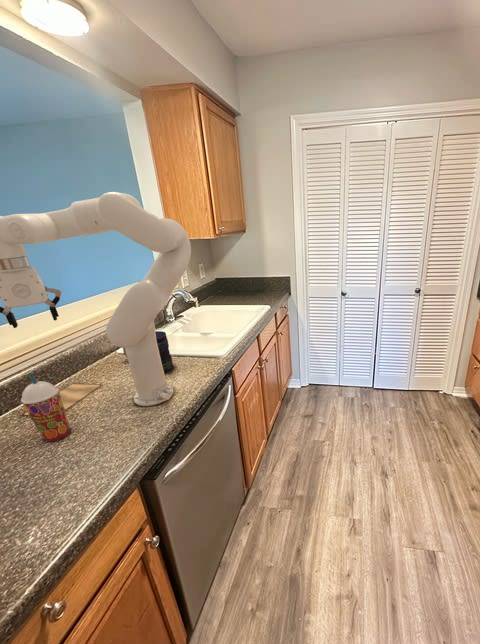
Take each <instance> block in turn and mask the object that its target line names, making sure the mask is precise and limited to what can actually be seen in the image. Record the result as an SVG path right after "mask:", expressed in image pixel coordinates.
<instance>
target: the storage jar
mask: <svg viewBox="0 0 480 644" xmlns="http://www.w3.org/2000/svg"><path fill="white" fill-rule="evenodd" d="M155 333H156V340H157V345H158V349H159V354H160V358H161V362H162V366H163V370H164V374H165V375H167V374H169V373H171V372H173V370H174V363H173V356H172V354H171V353H170V344H169V340H168V337H167V333H166V332H165V331H160V330H155Z"/></svg>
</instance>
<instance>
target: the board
mask: <svg viewBox="0 0 480 644" xmlns="http://www.w3.org/2000/svg"><path fill="white" fill-rule="evenodd" d="M99 387H101V384H83V383H81V384H80V383H71V384H70V385H68V386H67V387H65V388H63V389H62V390H59V393H60V396H61V400H62V403H63V406H64V409H65V411H66V410H68V409H69V408H71V407H72V406H74V405H75V404H77V403H78V402H80V401H81V400H82V399H83V398H85V397H86V396H88V395H89V394H91V393H92V392H94V391H95V390H96V389H98V388H99ZM23 416H30V415H29V414H28V412H27V411H26V412H25V413H23Z"/></svg>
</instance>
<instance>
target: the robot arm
mask: <svg viewBox="0 0 480 644" xmlns="http://www.w3.org/2000/svg"><path fill="white" fill-rule="evenodd" d="M113 231H115V232H117V233H119V234H121V235H122V236H124V237H126V238H128V239H130V240H131V241H133V242H135V243H137V244H139V245H141V247H142V246H143V247H144V248H146V249H148V250H150V251H152V252H156V253H158V255H157V257H156V258H155V259H154V261H153V263H152V264H151V266H150V268H149V270H148V271H147V272H146V274H145V276H144V277H143V278H142V280H140V281H139V282H137V283H136V284H134V285H132V286H131V287H130V288H129V289H128V290H127V291H126V293H125V294H124V295H123V297H122V299H121V300H120V302H119V304H118V305H117V307H116V309H115V310H114V312H113V313H112V315H111V316H110V319H109V320H108V322H107V324H106V327H105V333H106V337H107V339H108V341H109V342H110V343H111V344H112V345H114V346H115V347H117V348H122V349H123V348H125V351H126V355H127V357H126V359H127V362H128V365H129V369H130V373H131V376H132V380H133V383H134V386H135V389H136V394H134V397H133V401H134V403H135V405H138V406H141V407H150V406H155V405H158V404H161V403H164V402H166V401H169V400H170V399H171V397H173V395H174V388H173V387H172V386H171V385H170V384H168V383H167V379H166V374H164V370H163V366H162V362H161V358H160V354H159V349H158V345H157V340H156V333H155V331H156V326H155V319H156V318H157V316H158V314H160V312H161V311H162V310H163V309H164V307H165V306H166V304H167V303H168V301H169V298H170V297H171V295H172V293H173V292H174V291H175V289H176V287H177V286H178V284H179V283H180V281H181V279H182V277H183V276H184V274H185V272H186V271H187V268H188V267H189V264H190V260H191V257H192V256H191V255H192V247H191V241H190V238H189V236H188V235H189V234H188V233H187V231H186V230H185V229H184V227H183V226H182V224H180V223H179V222H178V221H176V220H174V219H172V218H168V217H162V218H160V217H158V216H157V215H155V214H153V213H151V212H150V211H147V210H146V209H145V208H143V207H142V204H141V203H140V201H139V200H138V199H137V198H136V197H135V196H133V195H131V194H128V193H125V192H119V191H118V192H117V191H108V192H105V193H103V194H101V196H99V197H94V198H89V199H83V200H77V201H73V202H71V204H70V206H69V207H66V208H63V209H57V210H54V211H48V212H42V213H41V212H40V213H13V214H9V215H8V214H7V215H0V300H1V302H2V304H3V306H4V307H3V306H0V314H2V315H3V316H5V318H6V321H7V322H8V325H9V326H12V327H13V329H17V328H18V322H17V319H16V316H15V314H14V312H11V310H12V309H14V308H22V307H26V306H27V307H28V306H33V305H34V306H35V305H39V304H43V303H44V304H46V305H47V306H49V307H48V308H49V311H50V314H51V317H52V319H53V321H57V320H58V317H59V312H58V310H57V307H56V306H57V305H58V303H59V302H60V300H61V296H62V290H61V289H58V288H55V287H51V286H45V285H44V282H43V281H42V279H41V277H40V275H39V273H38V271H37V270H36V268H35V267H33V266H31V263H30V261H29V257H28V255H27V253H26V249H25V247H24V245H34V244H41V243H48V242H49V243H50V242H54V241H59V240H65V239H69V238H74V237H79V236H85V237H87V236H92V235H98V234H102V233H107V232H113ZM48 293H52V294H54V298H53V299H50V298H49V297H48Z"/></svg>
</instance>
